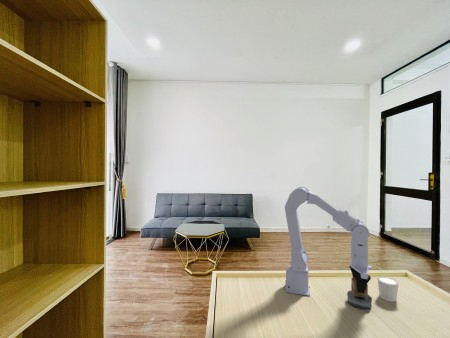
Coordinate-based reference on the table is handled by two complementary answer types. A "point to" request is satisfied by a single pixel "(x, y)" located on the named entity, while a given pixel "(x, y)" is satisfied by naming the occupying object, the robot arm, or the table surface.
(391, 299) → the grey and white cylinder
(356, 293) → the walnut block
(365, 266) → the robot arm
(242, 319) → the table surface
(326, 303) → the table surface
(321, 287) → the table surface
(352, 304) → the tin
